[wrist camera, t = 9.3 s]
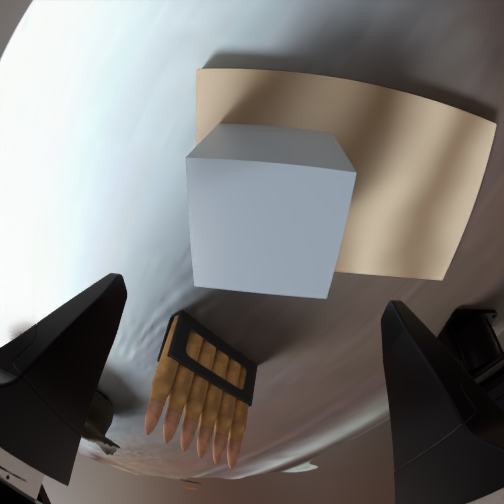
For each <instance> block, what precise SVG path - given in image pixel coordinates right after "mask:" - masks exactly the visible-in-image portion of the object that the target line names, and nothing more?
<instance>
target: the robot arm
mask: <svg viewBox="0 0 504 504" xmlns="http://www.w3.org/2000/svg"><path fill="white" fill-rule="evenodd" d="M126 299H127V290H126V286H125V283H124V279H123V276H122V275H121V274H116V273H110V274H108V275H107V276H105V277H104V278H102V279H101V280H99V281H98V282H96V283H94V284H93V285H91V286H90V287H88V288H87V289H85V290H84V291H83V292H81V293H80V294H78V295H77V296H75V297H74V298H72V299H71V300H69V301H68V302H66V303H65V304H63V305H62V306H61V307H59V308H58V309H56V310H55V311H53V312H52V313H51V314H49V315H48V316H46V317H45V318H43V319H42V320H41V321H39V322H38V323H37V324H35V325H34V326H32V327H31V328H29V329H28V330H27V331H25V332H24V333H22V334H21V335H19V336H18V337H16V338H15V339H13V340H12V341H10V342H9V343H7V344H6V345H4V346H2V347H1V348H0V504H51V503H50V501H49V498H48V496H47V494H46V492H45V489H44V487H43V485H42V480H43V478H44V474H45V475H47V476H49V477H50V478H52V479H55V480H56V481H58V482H61V483H62V484H65V485H67V486H68V484H69V481H70V477H71V473H72V469H73V465H74V461H75V457H76V454H77V450H78V447H79V443H80V440H81V435H82V432H83V429H84V426H85V422H86V419H87V416H88V413H89V410H90V407H91V404H92V401H93V398H94V395H95V392H96V389H97V386H98V383H99V380H100V377H101V374H102V372H103V369H104V366H105V363H106V361H107V358H108V355H109V353H110V350H111V348H112V345H113V342H114V340H115V337H116V334H117V331H118V327H119V324H120V320H121V317H122V313H123V310H124V306H125V303H126ZM496 317H497V312H496V311H495V310H456V311H455V312H453V314H452V315H451V317H450V319H449V320H448V322H447V323H446V325H445V327H444V328H443V330H442V331H441V333H440V334H439V336H438V337H437V338H436V336H435V335H434V334H433V333H432V332H431V331H430V330H429V329H428V328H427V327H426V326H425V325H424V324H423V322H422V321H421V320H420V319H419V318H418V317H417V316H416V315H415V314H414V313H413V312H412V311H411V310H410V309H409V308H408V307H407V306H406V305H405V304H404V303H403V302H402V301H400V300H390V301H389V302H388V304H387V306H386V309H385V311H384V313H383V315H382V318H381V332H382V350H383V364H384V372H385V379H386V386H387V394H388V402H389V411H390V420H391V431H392V443H393V458H394V471H395V472H394V482H395V504H504V352H503V350H502V347H501V345H500V343H499V341H498V339H497V336H496V334H495V332H494V330H493V328H492V326H491V324H492V323H493V321H494V320H495V318H496Z"/></svg>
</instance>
